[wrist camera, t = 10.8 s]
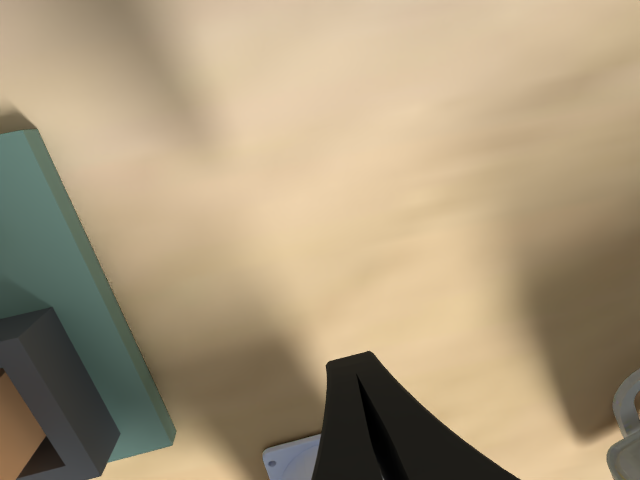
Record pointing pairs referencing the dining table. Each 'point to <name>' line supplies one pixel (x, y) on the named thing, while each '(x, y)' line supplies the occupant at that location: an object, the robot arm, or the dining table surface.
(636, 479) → the network device
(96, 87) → the dining table surface
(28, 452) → the plug
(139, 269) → the dining table surface
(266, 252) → the dining table surface
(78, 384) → the header board
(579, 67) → the dining table surface
